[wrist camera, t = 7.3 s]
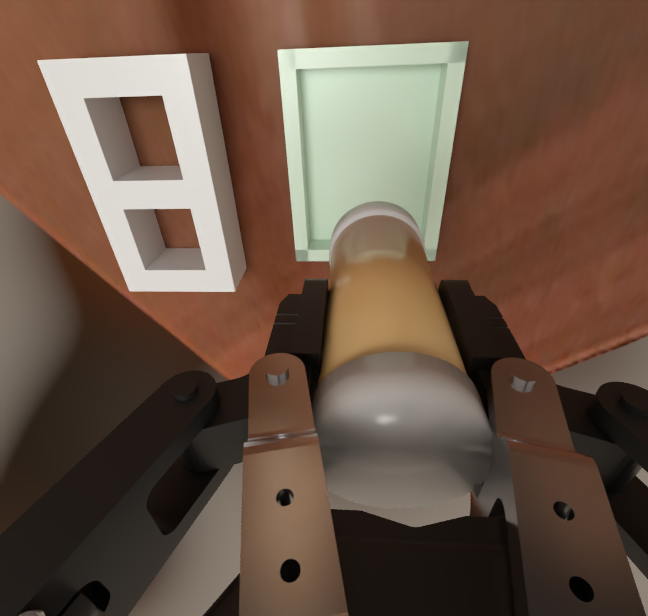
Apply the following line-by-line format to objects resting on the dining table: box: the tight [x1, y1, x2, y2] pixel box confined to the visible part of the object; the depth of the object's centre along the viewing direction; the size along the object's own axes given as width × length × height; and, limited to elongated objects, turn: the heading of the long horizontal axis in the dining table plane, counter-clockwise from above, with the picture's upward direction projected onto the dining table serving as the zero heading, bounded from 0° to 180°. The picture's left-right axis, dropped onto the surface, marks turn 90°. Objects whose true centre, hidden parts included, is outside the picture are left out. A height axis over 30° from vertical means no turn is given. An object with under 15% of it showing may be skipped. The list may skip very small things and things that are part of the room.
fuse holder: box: [37, 53, 247, 292], centre depth 27 cm, size 16×9×4 cm, turn 2°
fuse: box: [311, 201, 493, 509], centre depth 12 cm, size 4×4×10 cm
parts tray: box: [278, 41, 469, 261], centre depth 26 cm, size 14×11×2 cm
